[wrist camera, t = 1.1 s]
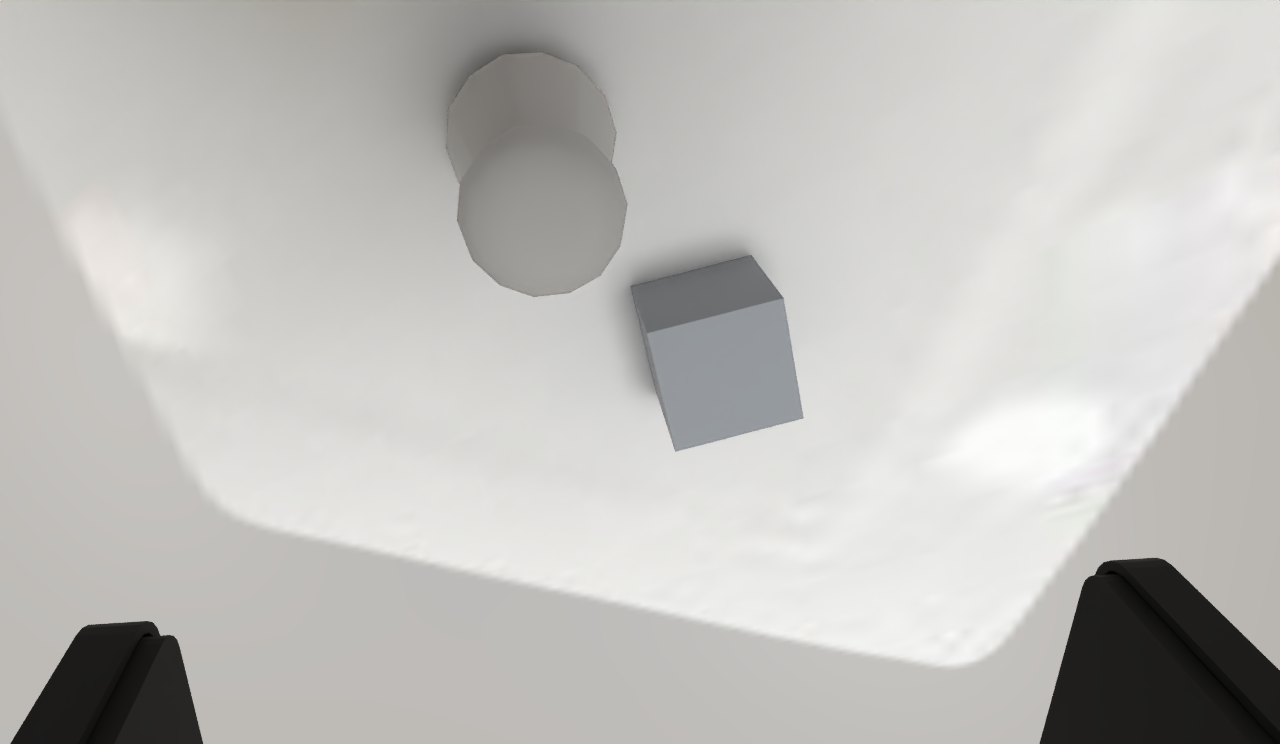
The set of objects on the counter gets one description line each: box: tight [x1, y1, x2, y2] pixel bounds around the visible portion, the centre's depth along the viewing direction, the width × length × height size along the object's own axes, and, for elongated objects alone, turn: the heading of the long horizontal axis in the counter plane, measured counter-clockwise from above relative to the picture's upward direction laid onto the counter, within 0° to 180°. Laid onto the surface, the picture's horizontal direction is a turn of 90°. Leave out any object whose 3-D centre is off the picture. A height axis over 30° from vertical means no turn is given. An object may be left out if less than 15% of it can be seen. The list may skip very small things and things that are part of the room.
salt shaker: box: [446, 52, 627, 297], centre depth 29 cm, size 6×6×13 cm
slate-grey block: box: [631, 256, 803, 452], centre depth 37 cm, size 5×5×5 cm
